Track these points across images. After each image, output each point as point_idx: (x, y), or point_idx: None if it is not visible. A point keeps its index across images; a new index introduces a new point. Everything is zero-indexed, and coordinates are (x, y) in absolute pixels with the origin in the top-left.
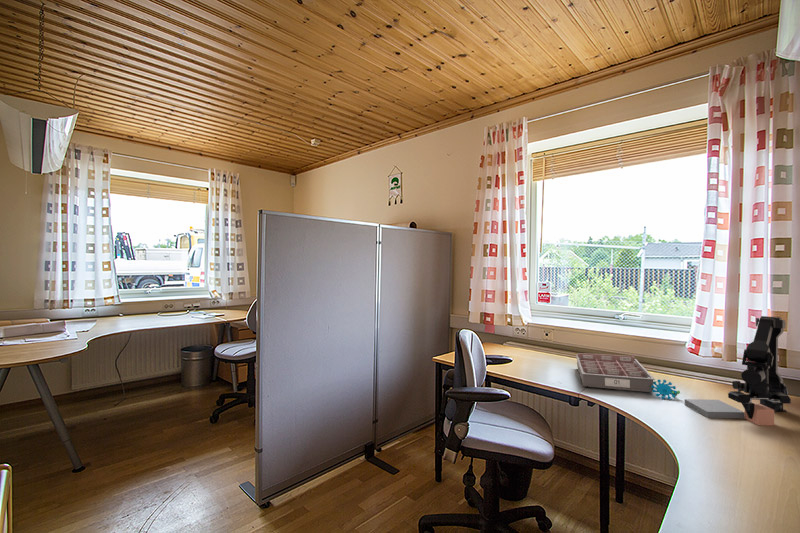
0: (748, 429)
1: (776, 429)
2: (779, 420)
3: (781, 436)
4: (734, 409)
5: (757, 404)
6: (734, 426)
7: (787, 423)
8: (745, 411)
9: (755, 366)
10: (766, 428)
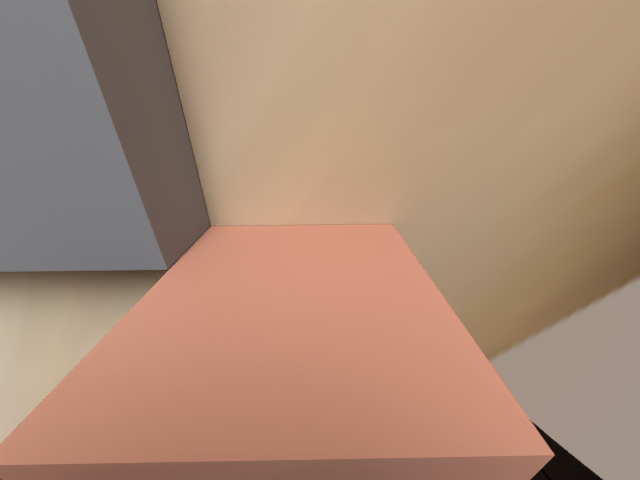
0: None
1: None
2: (547, 253)
3: None
4: (21, 140)
5: (397, 477)
6: (48, 376)
7: (530, 310)
8: (161, 298)
9: None
10: None
